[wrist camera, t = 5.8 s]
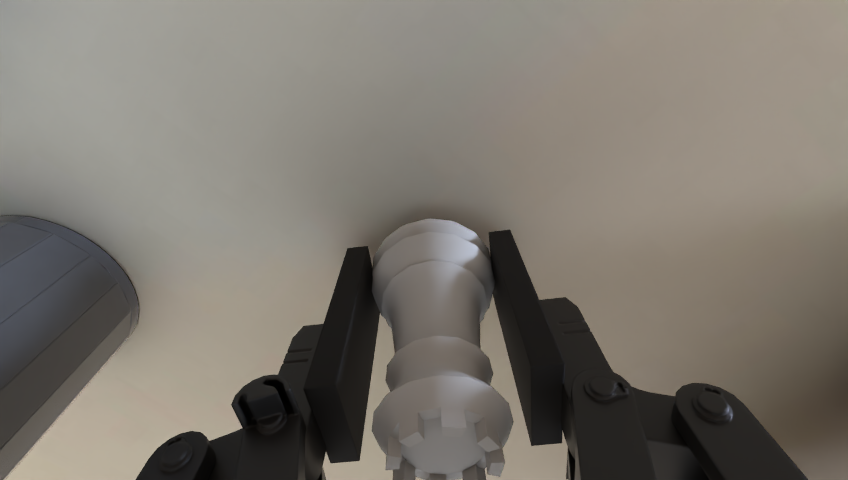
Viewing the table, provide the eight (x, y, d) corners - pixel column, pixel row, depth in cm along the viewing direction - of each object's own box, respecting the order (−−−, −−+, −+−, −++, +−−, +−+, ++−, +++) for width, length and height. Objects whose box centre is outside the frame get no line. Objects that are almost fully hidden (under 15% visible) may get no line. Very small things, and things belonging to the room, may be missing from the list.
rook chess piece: (407, 328, 17) (401, 543, 10) (350, 243, 15) (295, 437, 8) (508, 286, 16) (578, 491, 9) (461, 191, 14) (504, 359, 7)
